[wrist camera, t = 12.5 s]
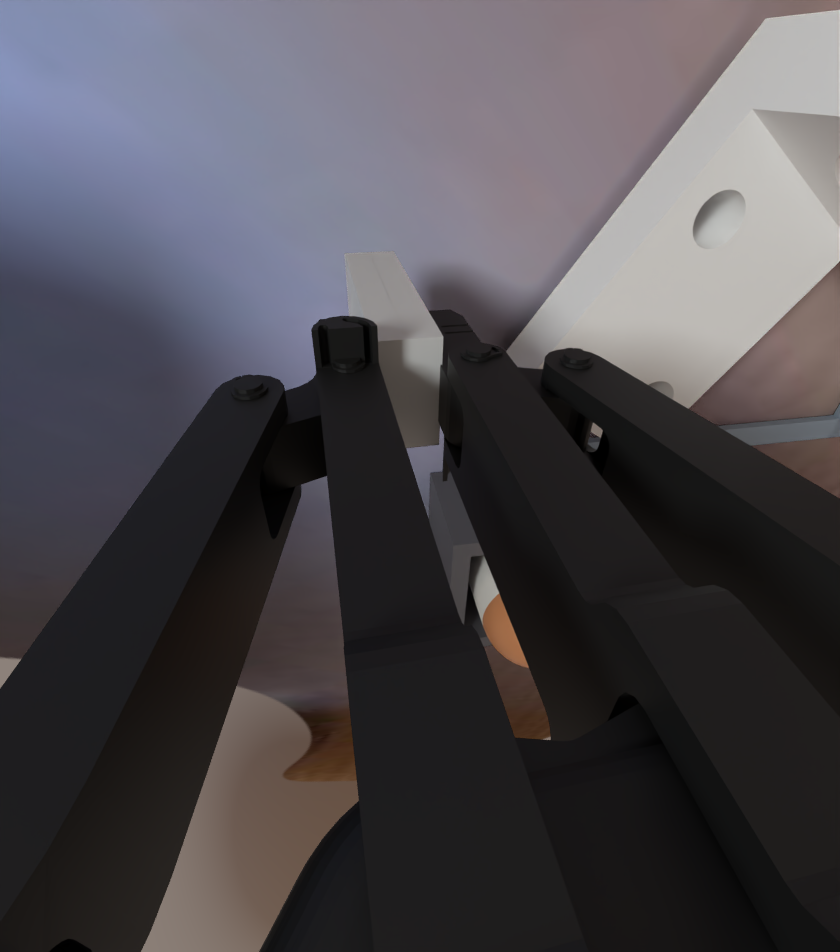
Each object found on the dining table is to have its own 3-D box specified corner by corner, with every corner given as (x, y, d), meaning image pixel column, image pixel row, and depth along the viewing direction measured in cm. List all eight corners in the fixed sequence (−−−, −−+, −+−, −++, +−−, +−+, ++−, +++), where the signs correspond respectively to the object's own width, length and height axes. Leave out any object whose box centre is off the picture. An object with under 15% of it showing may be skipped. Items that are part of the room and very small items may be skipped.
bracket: (745, 20, 17) (987, -7, 11) (839, 162, 20) (1064, 200, 14) (493, 349, 22) (562, 450, 16) (600, 417, 25) (689, 521, 20)
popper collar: (427, 577, 30) (445, 652, 26) (430, 473, 25) (453, 545, 21) (551, 561, 31) (587, 630, 27) (576, 458, 26) (623, 525, 22)
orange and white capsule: (454, 572, 29) (493, 700, 23) (459, 503, 25) (506, 631, 20) (540, 561, 29) (599, 682, 23) (555, 493, 26) (627, 613, 20)
